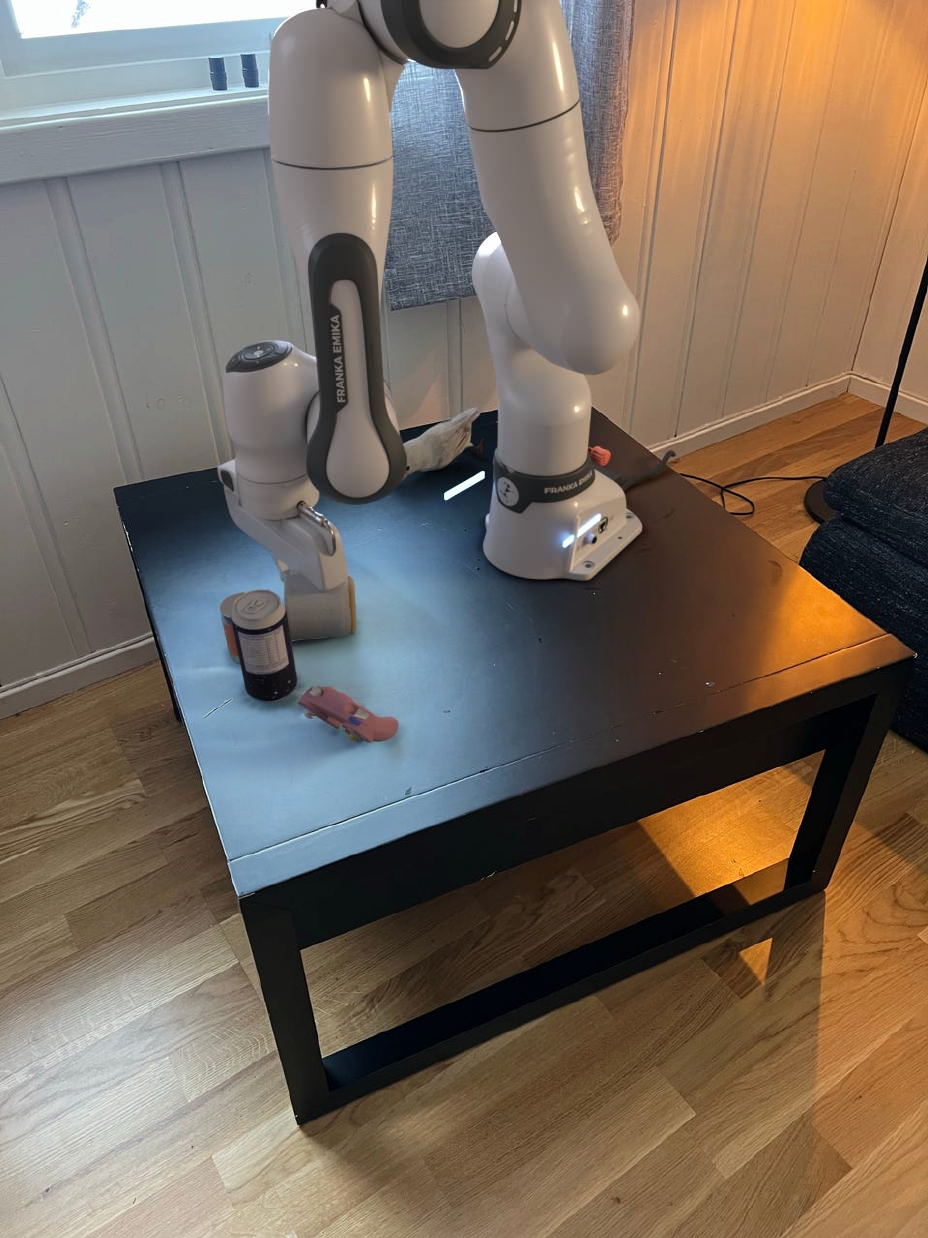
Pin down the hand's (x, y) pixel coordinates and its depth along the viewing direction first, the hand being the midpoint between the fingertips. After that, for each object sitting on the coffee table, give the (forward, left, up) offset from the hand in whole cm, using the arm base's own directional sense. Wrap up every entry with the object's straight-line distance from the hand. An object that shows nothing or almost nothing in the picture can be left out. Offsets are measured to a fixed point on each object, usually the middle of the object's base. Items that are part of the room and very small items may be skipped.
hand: (293, 584), depth 114 cm
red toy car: (+9, +23, -2) cm, 24 cm away
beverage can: (+11, +12, -2) cm, 16 cm away
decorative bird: (-34, -13, -2) cm, 36 cm away
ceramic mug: (+1, +6, -2) cm, 7 cm away
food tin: (+10, +5, -2) cm, 11 cm away
